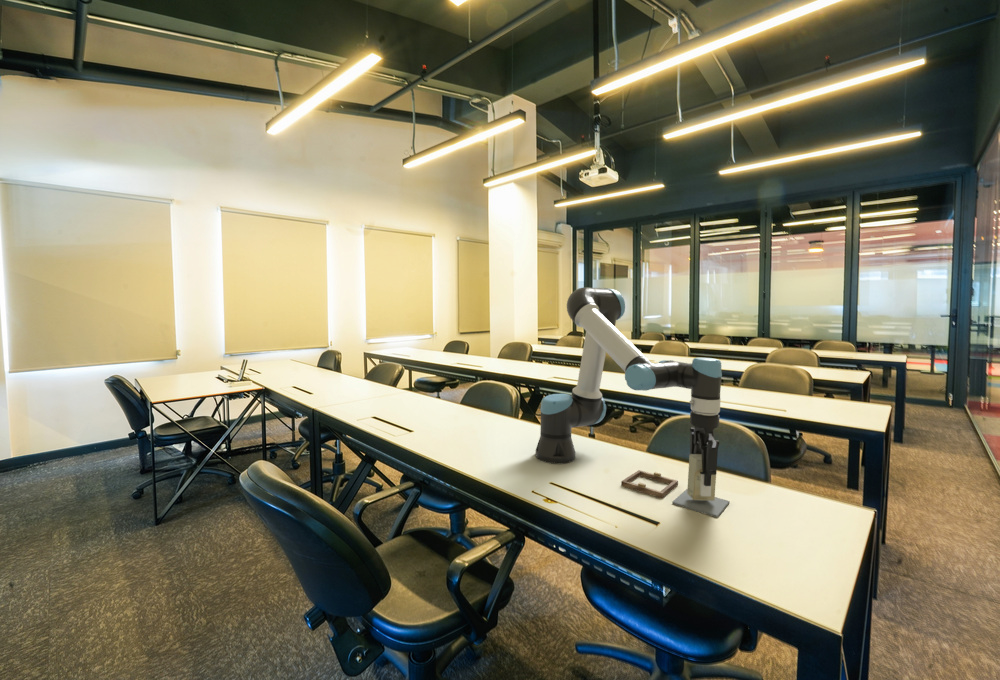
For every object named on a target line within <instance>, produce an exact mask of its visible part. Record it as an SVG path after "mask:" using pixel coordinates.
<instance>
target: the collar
mask: <svg viewBox="0 0 1000 680" xmlns="http://www.w3.org/2000/svg"><path fill="white" fill-rule="evenodd" d="M640 477H642V478H647V479H650V480H653V481H657V482H661V483H664V484H667V485H666V486H665V487H664V488H663V489H661V490H656V489H653V488H650V487H647V486H646V484H645V483H642V482H639V483H633V482H634V481H635V480H637V479H638V478H640ZM620 483H621V484H620V486H621V487H624V488H628V489H631V490H634V491H636V492H641V493H644V494H647V495H650V496H653V497H656V498H660V499H663V498H664V497H666V496H667V495H668V494H669V493H671V492H672V491H673V490H674V489H676V488H677V487H679V486H678V485H679V481H678V480H677V479H673V478H670V477H665V476H663V475H662V473H659V472H656V471H655V472H653V473H652V472H647V471H643V470H639V469H638V470H636V471H635V472H634V473H632V474H630V475H629V476H627V477H626V478H624V479H623V480H621V481H620Z"/></svg>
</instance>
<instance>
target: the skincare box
mask: <svg viewBox="0 0 1000 680" xmlns="http://www.w3.org/2000/svg"><path fill="white" fill-rule="evenodd" d="M688 455H689V456H688V473H687V474H688V475H687V488H686V489H687V494H688V495H689V496H690V497H691V498H692V499H693V500H708V501H714V500H715V497H716V496H715V495H716V481H717V474H716V475H712V479H711V496H700V479H701V474H700V472H703V471H702V454H690V453H689V454H688Z"/></svg>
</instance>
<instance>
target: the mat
mask: <svg viewBox="0 0 1000 680" xmlns="http://www.w3.org/2000/svg"><path fill="white" fill-rule="evenodd" d="M687 489H688V488H686V489H685V490H684V491H683V492H681V493H680V495H678V496H677V497H676V498H675V499H674V500H673V501H671V503H672V505H675V506H679V507H682V508H685V509H688V510H691V511H694V512H697V513H701V514H705V515H707V516H711V517H713V518H719V516H720V515H722V513H723V512H724V511H725V510H726V508H727V506H728V505H729V504H730V501H729V500H727V499H725V498H724V499H723V498H720V497H716V496H715V500H714V501H708V500H693V499H692V498H691V497H690V496H689V495H688V494H687Z"/></svg>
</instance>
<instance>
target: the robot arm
mask: <svg viewBox="0 0 1000 680" xmlns="http://www.w3.org/2000/svg"><path fill="white" fill-rule="evenodd" d="M625 310H626V302H625V298H624V297H623V295H622V294H621V293H620V292H619V291H618V290H616V289H613V288H608V287H607V288H606V287H588V286H587V287H586V286H585V287H580V288H577V289H575V290H573V291H572V293H570V295H569V296H568V298H567V301H566V312H567V314H568V316H569V318H570V319H571V321H572V322H573V323H574V324H575V325H576V326H577V327H578V328H583V329H584V331H585V337H584V341H583V342H584V343H583V349H582V353H581V355H582V356H581V361H580V367H579V373H578V378H577V385H576V386H575V387H573V388H572V391H571V394H568V393H553V394H549V395H546V396H544V397H543V398H542V400H541V403H540V408H539V409H540V435H539V438H538V442H537V444H536V448H535V458H536V459H537V460H539V461H541V462H544V463H548V464H555V465H556V464H568V463H569V464H570V463H571V462H575V460H576V455H577V453H576V449H575V446H574V443H573V439H572V438H573V437H572V429H573V428H578V427H579V428H580V427H586V426H587V427H588V426H592V425H593V426H594V425H595V424H598V423H600V422H601V421H603V419H604V418H605V416H606V412H607V404H605V403H606V401H605V399H604V397H603V393H602V392H601V391H600V387H601V382H602V377H603V370H604V365H605V360H606V354H607V355H608V356H609V357H610V358H611V359H612V360H613V361H614V362H615V363H616V364H617V365H618V367H620V368H621V369H622V371H624V380H625V381H626V385H627V386H628V387H629V389H631V390H633V391H645V392H646V391H650V390H657V389H666V388H673V387H675V388H683V389H687V390H690V397H691V398H690V400H689V404H690V409H691V411H690V414H689V424H690V425H691V426H693V427H689V433H690V435H689V436H690V437H689V438H690V442H689V455H690V454H702V471H703V472H700V474H701V479H700V496H711V479H712V475H716V476H717V472H718V471H717V470H718V456H719V455H718V453H719V452H718V451H719V446H720V441H719V440H715V433H714V430H715V429H718V428H719V427H720V417H721V416H720V414H719V413H720V412H721V388H722V387H721V386H722V377H723V374H722V361H721V360H720V359H719V358H718V359H717V358H712V357H695V358H693V359H692V361H691V362H690V363H688V362H681V361H675V360H665V359H663V360H659V361H658V362H652V361H650V360H649V358H648V357H646V355H644V354H643V353H642V351H640V350H639V349H638V348H637V347H636V346H635V345H634V344H633V342H631V341H630V340H629V339H628V338H627V337H626V336H625V335H624V334H623V333H622V332H620V331H619V329H618V328H617V327H616V323H617V321H618V320H619V319H621V318H622V317H623V316H624V315H625Z"/></svg>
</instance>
